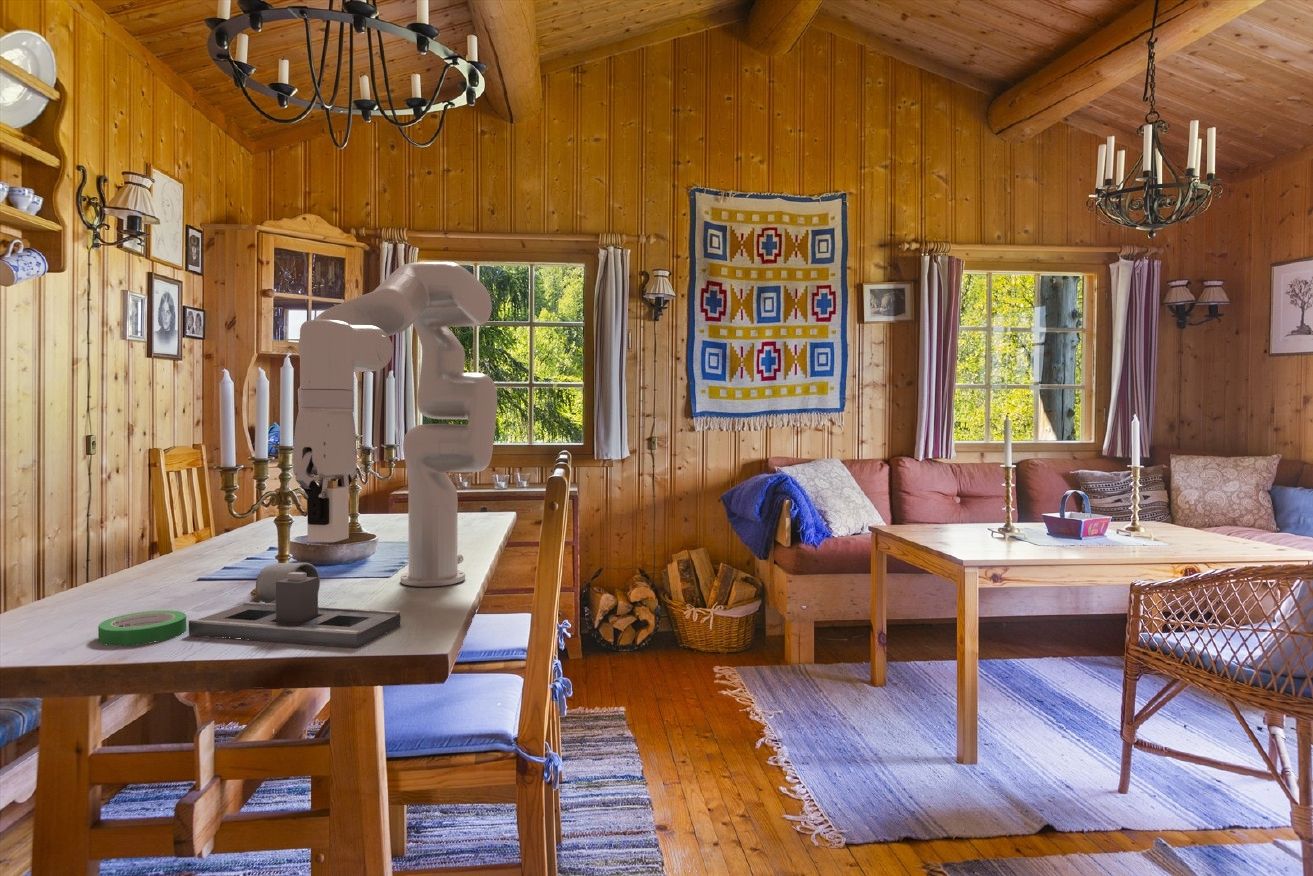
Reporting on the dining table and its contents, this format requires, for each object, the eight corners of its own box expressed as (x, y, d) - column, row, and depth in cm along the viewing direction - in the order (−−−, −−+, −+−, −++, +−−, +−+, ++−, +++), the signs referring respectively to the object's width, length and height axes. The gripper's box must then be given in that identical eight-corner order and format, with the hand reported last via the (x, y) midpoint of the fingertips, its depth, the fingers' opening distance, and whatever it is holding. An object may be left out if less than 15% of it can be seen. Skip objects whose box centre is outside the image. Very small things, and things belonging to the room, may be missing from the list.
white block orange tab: (324, 537, 121) (323, 479, 120) (348, 538, 120) (348, 480, 120) (307, 541, 117) (307, 481, 116) (333, 542, 116) (332, 482, 116)
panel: (245, 615, 128) (245, 602, 128) (400, 626, 123) (400, 611, 123) (188, 635, 117) (188, 620, 117) (356, 648, 111) (356, 632, 111)
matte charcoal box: (294, 626, 122) (293, 569, 122) (318, 628, 121) (317, 571, 121) (276, 633, 118) (275, 575, 118) (300, 635, 117) (300, 576, 117)
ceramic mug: (284, 598, 141) (283, 556, 140) (321, 602, 138) (320, 559, 138) (236, 613, 131) (235, 568, 130) (275, 617, 128) (274, 571, 128)
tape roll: (126, 651, 110) (125, 633, 110) (82, 641, 115) (82, 623, 114) (202, 632, 119) (202, 615, 119) (159, 623, 124) (158, 607, 124)
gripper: (336, 403, 127) (337, 514, 127) (268, 401, 110) (269, 529, 111) (379, 403, 125) (379, 516, 126) (316, 401, 109) (317, 531, 109)
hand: (328, 521), depth 118 cm, fingers closed on white block orange tab, 4 cm apart
